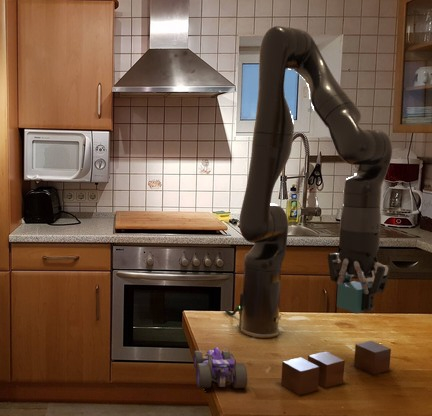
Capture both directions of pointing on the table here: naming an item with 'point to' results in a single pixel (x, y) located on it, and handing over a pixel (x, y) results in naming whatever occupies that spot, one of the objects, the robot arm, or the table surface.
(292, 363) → the walnut block
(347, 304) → the teal block
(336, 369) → the walnut block
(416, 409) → the table surface
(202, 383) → the toy race car
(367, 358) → the walnut block
